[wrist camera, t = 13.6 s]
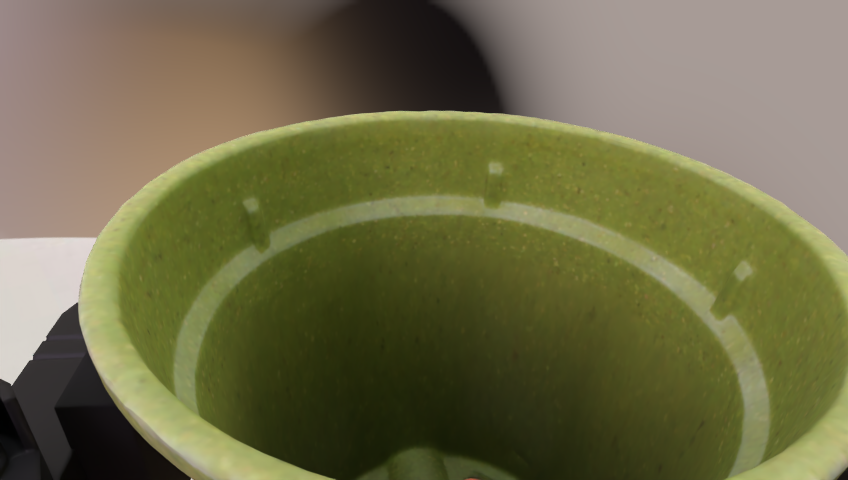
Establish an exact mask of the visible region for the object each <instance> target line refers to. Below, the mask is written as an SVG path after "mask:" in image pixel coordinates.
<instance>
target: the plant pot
mask: <svg viewBox="0 0 848 480" xmlns="http://www.w3.org/2000/svg"><path fill="white" fill-rule="evenodd" d="M78 313H79V322H80V326H81V330H82V334H83V337H84V340H85V343H86V346H87V349H88V352H89V355H90V357H91V359H92V361H93V363H94V366H95V368H96V370H97V372H98V374H99V376H100V378H101V381H102V383H103V385H104V387H105V389H106V390H107V392H108V393H109V395H110V396H111V398H112V400H113V401H114V403H115V404H116V406H117V407H118V409H119V410H120V411H121V412H122V414H123V415H124V416H125V418H126V419H127V420H128V421H129V423H130V424H131V425H132V426H133V427H134V428H135V430H136V431H137V432H138V433H139V434H140V435H141V436H142V437H143V438H144V439H145V440H146V441H147V442H148V443H149V444H150V445H151V446H152V447H153V448H155V449H156V450H157V451H158V452H159V453H160V454H162V455H163V456H164V457H165V458H166V459H168V460H169V461H170V462H171V463H172V464H173V465H175V466H176V467H177V468H178V469H179V470H181V471H182V472H184V473H185V474H186V475H188V476H189V477H191V478H192V479H193V480H465V479H470V478H471V479H478V480H837V479H838V478H839V476H840V475H841V474H842V473H843V472H844V471H845V470H846V469H847V467H848V256H847V255H846V254H845V253H844V252H843V251H842V250H841V249H840V248H839V247H838V246H837V245H836V244H835V243H834V242H833V241H832V240H830V239H829V238H828V237H827V236H826V235H825V234H823V233H822V232H821V231H820V230H818V229H817V228H816V227H814V226H813V225H812V224H810V223H808V222H807V221H806V220H805V219H804V218H802V217H801V216H799V215H798V214H796V213H795V212H793V211H792V210H790V209H789V208H788V207H787V206H786V205H784V204H783V203H782V202H780V201H778V200H776V199H774V198H773V197H771V196H769V195H767V194H766V193H764V192H762V191H760V190H759V189H757V188H755V187H753V186H752V185H750V184H748V183H745V182H743V181H741V180H739V179H737V178H735V177H733V176H732V175H730V174H728V173H725V172H723V171H721V170H718V169H716V168H713V167H711V166H709V165H707V164H704V163H702V162H699V161H697V160H694V159H691V158H688V157H685V156H682V155H680V154H678V153H675V152H671V151H668V150H665V149H663V148H660V147H657V146H654V145H650V144H647V143H644V142H641V141H638V140H635V139H632V138H628V137H623V136H620V135H616V134H612V133H608V132H603V131H598V130H595V129H591V128H586V127H580V126H574V125H571V124H564V123H560V122H557V121H551V120H545V119H539V118H533V117H525V116H517V115H507V114H496V113H495V114H488V113H479V112H458V111H423V112H412V111H397V112H396V111H395V112H380V113H363V114H356V115H347V116H340V117H332V118H327V119H321V120H315V121H307V122H303V123H297V124H292V125H288V126H285V127H279V128H276V129H272V130H266V131H261V132H257V133H254V134H250V135H247V136H244V137H241V138H237V139H235V140H233V141H229V142H225V143H223V144H221V145H219V146H216V147H214V148H211V149H208V150H205V151H203V152H200V153H198V154H196V155H194V156H192V157H190V158H188V159H186V160H184V161H182V162H180V163H179V164H177V165H175V166H174V167H172V168H171V169H169V170H168V171H166V172H165V173H163V174H162V175H160V176H158V177H157V178H155V179H154V180H152V181H151V182H149V183H148V184H147V185H146V186H144V187H143V188H142V189H141V190H140V191H139V192H138V193H137V194H136V195H134V196H133V197H132V198H130V199H129V200H128V201H127V202H126V203H124V204H123V206H121V207H120V209H119V210H118V211H117V213H116V214H115V215H114V217H113V218H112V219H111V220H110V221H109V223H108V224H107V226H106V227H105V228H104V229H103V230H102V232H101V233H100V234H99V236H98V237H97V240H96V242H95V244H94V245H93V248H92V250H91V252H90V254H89V256H88V259H87V261H86V265H85V268H84V273H83V277H82V280H81V284H80V291H79V301H78Z"/></svg>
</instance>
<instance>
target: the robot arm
mask: <svg viewBox="0 0 848 480" xmlns="http://www.w3.org/2000/svg"><path fill="white" fill-rule="evenodd" d="M46 338H47V339H46V341H43V342H42V343H41V345H40V346H39V348H38V349H37V351H36V352H35V353H34V355H33V360H30V361H29V362H28V364H27V365H26V366H25V368H24V369H23V371H22V372H21V374H20V375H19V376H18V378H17V379H16V381H15V382H14V384H13V385H12V386H11V384H10V383H8V382H6V381H4V380H2V379H0V480H191V477H189V476H188V475H186V474H185V473H184V472H182V471H181V470H179V469H178V468H177V467H176V466H175V465H173V464H172V463H171V462H170V461H169V460H168V459H166V458H165V457H164V456H163V455H162V454H160V453H159V452H158V451H157V450H156V449H155V448H153V447H152V446H151V445H150V444H149V443H148V442H147V441H146V440H145V439H144V438H143V437H142V436H141V435H140V434H139V433H138V432H137V431H136V430H135V428H134V427H133V426H132V425H131V424H130V423H129V421H128V420H127V419H126V418H125V416H124V415H123V414H122V412H121V411H120V410H119V409H118V407H117V406H116V404H115V403H114V401H113V400H112V398H111V396H110V395H109V393H108V392H107V390H106V389H105V387H104V385H103V383H102V381H101V378H100V376H99V374H98V372H97V370H96V368H95V366H94V363H93V361H92V359H91V357H90V355H89V352H88V349H87V346H86V343H85V340H84V337H83V334H82V330H81V326H80V322H79V313H78V303H76V304H75V305H73V306H72V307H71V308H69V309H68V310H67V311H65V312H64V313H63V314H62V315H61V316H60V318H59V319H58V320H57V322H56V323H55V325H54V326H53V328H52V329H51V331H50V332H49V333H48V335H47V336H46ZM837 480H848V467H847V469H846V470H845V471H844V472H843V473H842V474H841V475H840V476H839V478H838V479H837Z"/></svg>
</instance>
